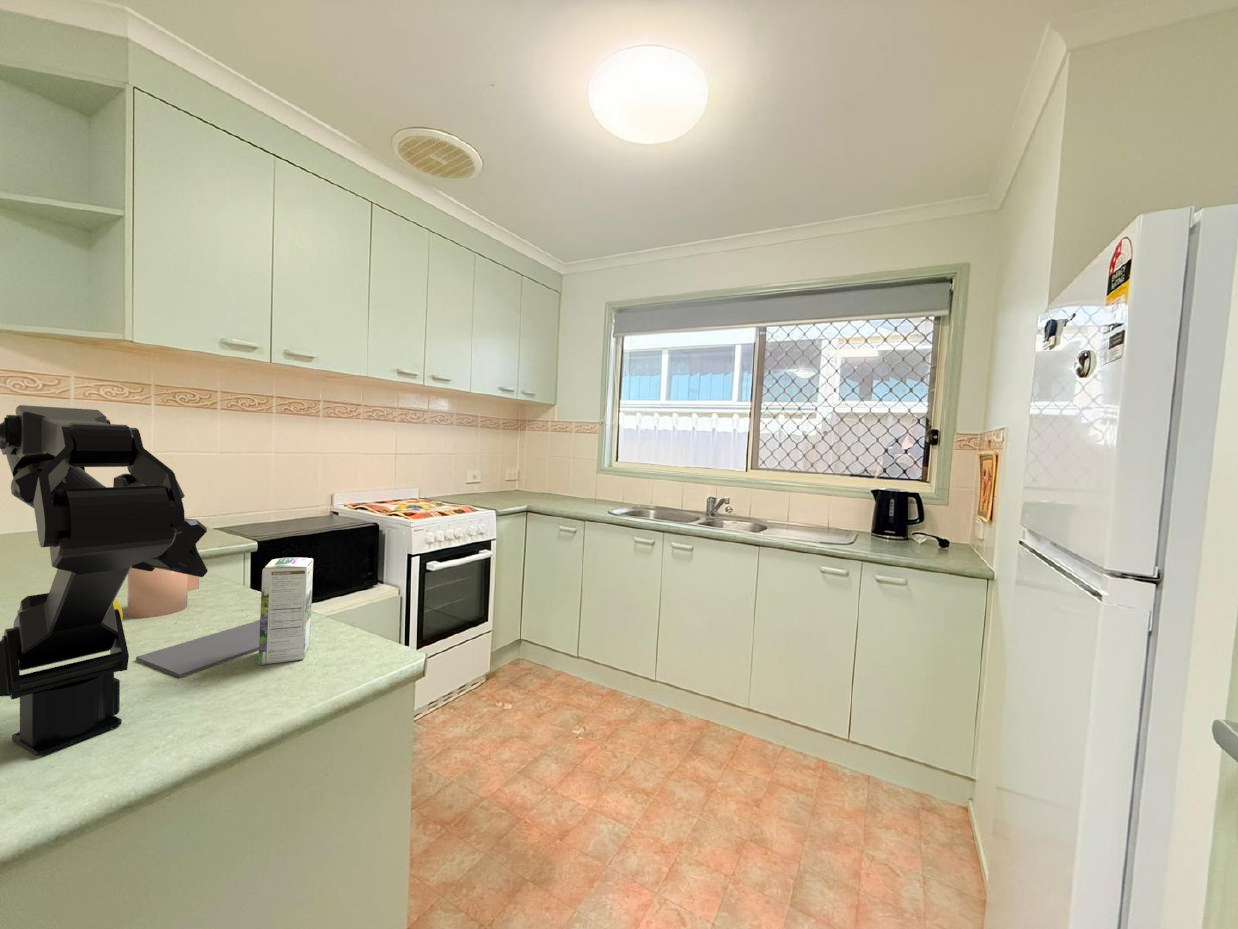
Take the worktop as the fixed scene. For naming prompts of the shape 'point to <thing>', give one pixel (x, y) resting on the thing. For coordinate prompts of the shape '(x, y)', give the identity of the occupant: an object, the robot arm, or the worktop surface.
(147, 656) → the mat
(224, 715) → the worktop surface
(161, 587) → the terracotta mug
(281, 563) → the syrup box
